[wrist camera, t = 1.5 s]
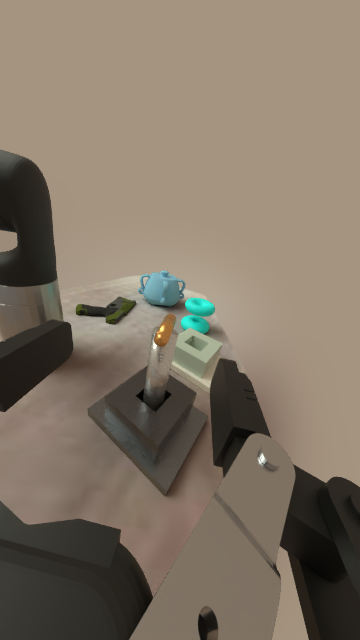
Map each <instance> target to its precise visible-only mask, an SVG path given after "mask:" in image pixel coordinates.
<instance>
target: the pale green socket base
mask: <svg viewBox="0 0 360 640" xmlns="http://www.w3.org/2000/svg"><path fill="white" fill-rule="evenodd" d="M221 347H222V343H220V342H218V341H216V340H214V339H212V338H210V337H208V336H206V335H204V334H202V333H200V332H198V331H196V330H194V329H192V328H188V329H187V330H185V331H184V332H182V333H181V334H179V335H178V338H177V342H176V347H175V351H174V356H173V360H172V365H171V369H172V370H173V371H175V372H176V373H178V374H180V375H181V376H183V377H184V378H186V379H187V380H189V381H190V382H192V383H193V384H195V385H196V386H198V387H200V388H201V389H203V390H204V391H206V392H207V393H209V394H210V385H211V380H212V377H213V375H214V372H215V369H216V366H217V363H218V361H219V359H220V358H222V357H221V356H219V352H220V349H221Z"/></svg>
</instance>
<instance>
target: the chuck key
mask: <svg viewBox="0 0 360 640" xmlns="http://www.w3.org/2000/svg"><path fill="white" fill-rule="evenodd" d="M175 322H176V317H175V315H173V314H167V315H166V316H165V318H164V320H163V321H162V323H161V325H160V327H156V328H154V329H153V331H152V338H151V345H150V353H149V360H148V367H147V374H146V381H145V388H144V396H143V403H145V404H146V405H147V406H148V407H149V408H151V409H152V410H153V411H154V412H156V411H157V410H158V409H159V408H160V407H161V406H162V405H163V400H164V396H165V391H166V387H167V383H168V378H169V374H170V369H171V365H172V360H173V356H174V351H175V347H176V342H177V338H178V333H177V332H176V331H175V330H174V329H173V328H174V325H175Z"/></svg>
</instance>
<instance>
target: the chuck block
mask: <svg viewBox="0 0 360 640" xmlns="http://www.w3.org/2000/svg"><path fill="white" fill-rule="evenodd" d="M147 367H148V366H147ZM147 367H145V368H144V369H143V370H140V371H139V372H138V373H136V374H135V375H133V376H132V377H131V378H129V379H128V380H127V381H125V382H124V383H123V384H121V385H120V386H118V387H117V388H116V389H114V390H113V391H112V392H110V393H109V394H107V395H106V396H105V397H103V398H102V399H101V400H99V401H98V402H97V403H95V404H94V405H92V406H91V407H90V408H88V415H89V416H90V417H91V418H92V419H93V421H94V422H95V423H96V424H97V425H98V426H99V427H100V428H101V429H102V430H103V431H104V432H105V433H106V434H107V435H108V436H109V437H110V439H111V440H112V441H113V442H114V443H115V444H116V445H117V446H118V447H119V448H120V449H121V450H122V451H123V452H124V453H125V454H126V455H127V457H128V458H129V459H130V460H131V461H132V462H133V463H134V464H135V465H136V466H137V467H138V468H139V469H140V470H141V471H142V472H143V474H144V475H145V476H146V477H147V478H148V479H149V480H150V481H151V482H152V483H153V484H154V485H155V486H156V487H157V488H158V489H159V490H160V492H161V493H162V494H163V495H164V496H166V494H167V492H168V490H169V488H170V486H171V485H172V483H173V481H174V479H175V477H176V475H177V474H178V472H179V470H180V468H181V466H182V464H183V463H184V461H185V459H186V457H187V455H188V453H189V452H190V450H191V448H192V446H193V444H194V442H195V441H196V439H197V437H198V435H199V433H200V431H201V430H202V428H203V426H204V424H205V422H206V420H207V418H208V416H207V415H205V414H204V413H202V412H201V411H200V410H198V409H197V408H195V407H194V406H193V402H194V400H195V397H196V394H197V393H196V392H194V391H193V390H191V389H190V388H188V387H187V386H185V385H184V384H182V383H181V382H179V381H178V380H176V379H175V378H173V377H172V376H170V375H169V378H168V383H167V387H166V391H165V396H164V400H163V405H162V406H161V407H160V408H159V409H158V410H157V411H156V412H154V411H153V410H152V409H151V408H149V407H148V406H147V405H146V404H145V403H143V396H144V388H145V381H146V374H147Z"/></svg>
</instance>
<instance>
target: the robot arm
mask: <svg viewBox="0 0 360 640" xmlns="http://www.w3.org/2000/svg"><path fill="white" fill-rule="evenodd" d="M0 230H3V231H10V232H16V233H17V240H18V245H17V247H16V248H15V249H13V250H10V251H6V252H0V333H1V336H2V338H3V341H2V342H0V411H2V412H6V411H7V410H8V409H9V408H10V407H11V406H13V405H14V404H15V403H16V402H17V401H19V400H20V399H21V398H22V397H23V396H24V395H26V394H27V393H28V392H29V391H30V390H32V389H33V388H34V387H35V386H36V385H37V384H39V383H40V382H41V381H42V380H43V379H45V378H46V377H47V376H48V375H49V374H50V373H52V372H53V371H54V370H55V369H56V368H57V367H59V366H60V365H61V364H62V363H63V362H65V361H66V360H67V359H68V358H69V357H70V355H71V354H72V351H73V340H72V330H71V325H70V323H68V322H64V320H63V313H62V306H61V299H60V292H59V285H58V279H57V271H56V255H55V246H54V238H53V224H52V210H51V200H50V195H49V190H48V187H47V183H46V181H45V178H44V176H43V174H42V173H41V171H40V169H39V168H38V167H37V165H36V164H35V163H33V162H32V161H31V160H29V159H27V158H25V157H23V156H19V155H17V154H14V153H10V152H7V151H3V150H0ZM210 406H211V424H212V443H213V462H214V465H215V466H219V467H223V476H224V479H223V481H222V482H221V484H220V486H219V487H218V489H217V491H216V492H215V494H214V496H213V498H212V499H211V501H210V503H209V504H208V506H207V508H206V509H205V511H204V513H203V515H202V516H201V518H200V520H199V521H198V523H197V525H196V526H195V528H194V530H193V531H192V533H191V535H190V537H189V538H188V540H187V542H186V543H185V545H184V547H183V548H182V550H181V552H180V553H179V555H178V557H177V559H176V560H175V562H174V564H173V565H172V567H171V569H170V570H169V572H168V574H167V576H166V577H165V579H164V581H163V582H162V584H161V586H160V587H159V589H158V591H157V592H156V594H155V596H154V598H153V596H152V593H151V590H150V587H149V584H148V582H147V580H146V577H145V575H144V573H143V571H142V569H141V567H140V566H139V564H138V562H137V561H136V559H135V558H134V557H133V555H132V554H131V553H130V552H129V551H128V549H127V548H125V547H124V546H123V545H122V544H121V543H120V533H121V530H120V529H116V528H112V527H109V526H105V525H101V524H97V523H93V522H90V521H86V520H82V519H74V520H66V521H58V522H50V523H42V524H34V525H28V524H25V523H23V522H22V521H21V520H20V519H19V518H18V517H17V516H16V515H15V514H14V513H13V512H12V511H10V510H9V509H8V508H7V507H6V506H5V505H4V504H3V503H2V502H1V501H0V640H272V636H273V631H274V626H275V621H276V615H277V610H278V605H279V599H280V590H281V578H280V574H279V572H278V570H277V568H276V559H277V553H278V549H279V546H281V547H282V548H283V549H285V550H286V551H287V552H288V556H289V560H290V564H291V568H292V572H293V576H294V580H295V585H296V589H297V593H298V597H299V601H300V605H301V609H302V613H303V617H304V621H305V625H306V629H307V634H308V638H309V640H360V487H358V486H357V485H356V484H354V483H352V482H351V481H349V480H347V479H344V478H342V477H333V478H331V479H330V480H329V481H328V482H327V483H325V482H323V481H321V480H319V479H318V478H316V477H314V476H312V475H311V474H309V473H307V472H305V471H304V470H302V469H300V468H299V467H297V466H295V465H294V464H293V463H292V461H291V459H290V457H289V456H288V454H287V453H286V451H285V450H284V449H283V448H282V447H281V445H280V444H278V443H277V442H276V441H275V440H273V439H272V438H271V436H270V433H269V430H268V428H267V425H266V422H265V419H264V417H263V414H262V411H261V408H260V405H259V402H257V397H256V394H255V393H254V389H253V386H252V383H251V381H250V380H249V379H248V378H247V376H246V375H245V374H244V373H240V372H239V371H238V368H237V364H236V362H235V361H232V360H228V359H224V358H220V359H219V361H218V363H217V366H216V369H215V372H214V375H213V377H212V380H211V385H210Z"/></svg>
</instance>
